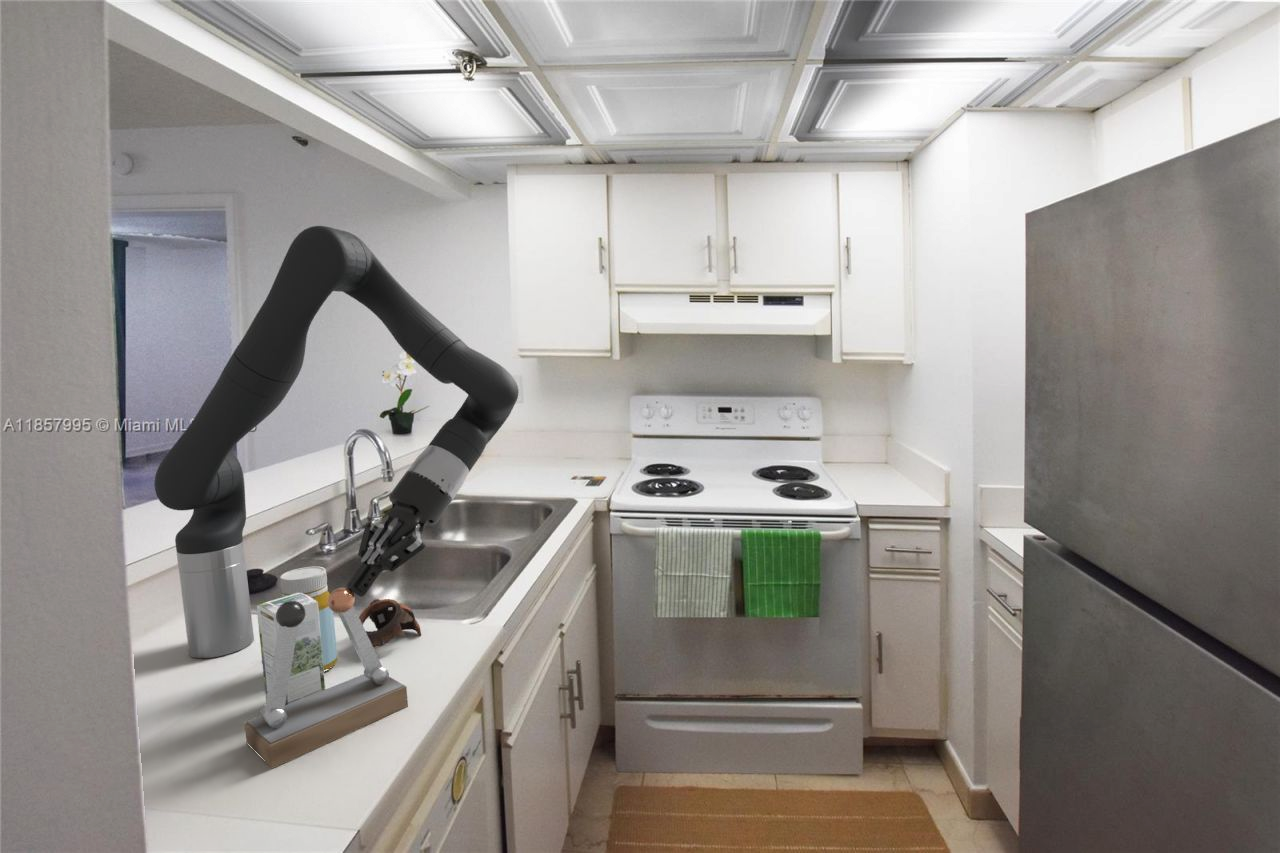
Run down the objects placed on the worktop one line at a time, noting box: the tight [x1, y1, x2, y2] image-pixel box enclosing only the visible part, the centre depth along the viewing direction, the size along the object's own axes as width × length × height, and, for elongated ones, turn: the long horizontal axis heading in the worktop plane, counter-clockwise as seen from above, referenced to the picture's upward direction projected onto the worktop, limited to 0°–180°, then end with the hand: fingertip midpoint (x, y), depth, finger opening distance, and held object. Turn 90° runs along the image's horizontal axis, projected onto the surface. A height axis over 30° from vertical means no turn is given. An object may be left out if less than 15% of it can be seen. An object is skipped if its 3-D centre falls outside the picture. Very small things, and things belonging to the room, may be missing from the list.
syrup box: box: [256, 593, 326, 705], centre depth 91 cm, size 6×6×14 cm
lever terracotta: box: [328, 587, 390, 685], centre depth 88 cm, size 3×3×15 cm
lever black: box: [259, 601, 305, 728], centre depth 81 cm, size 3×3×15 cm
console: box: [244, 673, 409, 769], centre depth 85 cm, size 8×17×3 cm, turn 139°
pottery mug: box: [358, 598, 422, 648], centre depth 110 cm, size 12×10×8 cm
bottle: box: [279, 566, 338, 670], centre depth 101 cm, size 7×7×15 cm
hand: (353, 592), depth 87 cm, fingers closed
